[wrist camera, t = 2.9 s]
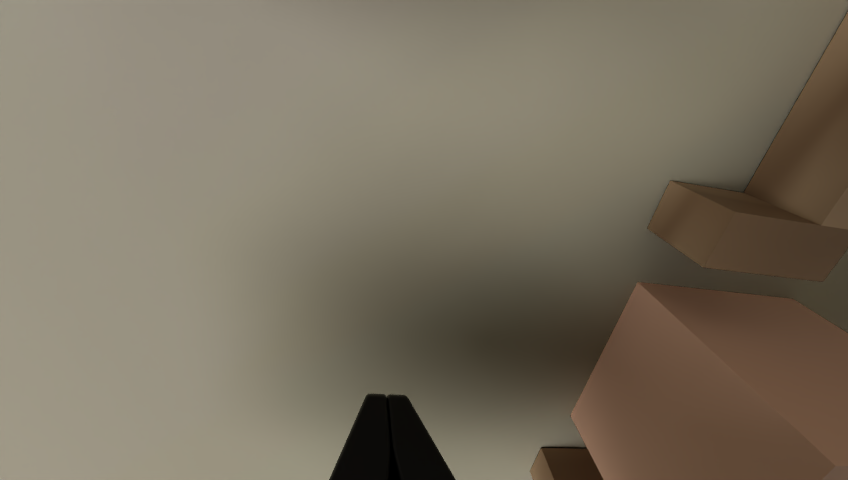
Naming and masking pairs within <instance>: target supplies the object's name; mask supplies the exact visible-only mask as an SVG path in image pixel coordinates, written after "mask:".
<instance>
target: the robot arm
mask: <svg viewBox="0 0 848 480" xmlns="http://www.w3.org/2000/svg"><path fill="white" fill-rule="evenodd" d="M329 480H455V478H454V476H453V475H452V473H451V471H450V469H449V468H448V466H447V464H446V462H445V461H444V459H443V457H442V456H441V454H440V452H439V450H438V449H437V447H436V445H435V444H434V442H433V440H432V438H431V437H430V435H429V433H428V431H427V430H426V428H425V426H424V425H423V423H422V421H421V419H420V418H419V416H418V414H417V413H416V411H415V409H414V407H413V406H412V404H411V402H410V401H409V399H408V397H407V396H405V395H391V394H390V395H388V396H387V397H386V395H384V394H367V396H366V397H365V399H364V402H363V404H362V406H361V408H360V411H359V413H358V415H357V418H356V420H355V422H354V424H353V427H352V429H351V431H350V434H349V436H348V438H347V440H346V443H345V445H344V447H343V450H342V452H341V454H340V456H339V459H338V461H337V463H336V466H335V468H334V470H333V472H332V475H331V477H330V479H329Z"/></svg>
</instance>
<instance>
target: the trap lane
mask: <svg viewBox="0 0 848 480" xmlns="http://www.w3.org/2000/svg"><path fill="white" fill-rule="evenodd" d="M647 229H649V230H650V231H652V232H653V233H654V234H656V235H657V236H659V237H660V238H662V239H663V240H664V241H666V242H667V243H669V244H670V245H672V246H673V247H674V248H676V249H677V250H679V251H680V252H682V253H683V254H684V255H686V256H687V257H689V258H690V259H692V260H693V261H695V262H696V263H697V264H699V265H700V266H702V267H703V268H710V269H719V270H727V271H735V272H744V273H752V274H760V275H769V276H777V277H785V278H794V279H802V280H810V281H818V282H823V281H824V280H825V278H826V277H827V276H828V274H829V273H830V272H831V270H832V269H833V268H834V266H835V265H836V264H837V262H838V261H839V260H840V258H841V257H842V256H843V254H844V253H845V252H846V250H847V249H848V12H847V14H846V16H845V18H844V19H843V21H842V23H841V24H840V26H839V28H838V30H837V31H836V33H835V35H834V37H833V38H832V40H831V42H830V44H829V45H828V47H827V49H826V51H825V52H824V54H823V56H822V57H821V59H820V61H819V63H818V64H817V66H816V68H815V70H814V71H813V73H812V75H811V77H810V78H809V80H808V82H807V83H806V85H805V87H804V89H803V90H802V92H801V94H800V96H799V97H798V99H797V101H796V103H795V104H794V106H793V108H792V110H791V111H790V113H789V115H788V116H787V118H786V120H785V122H784V123H783V125H782V127H781V129H780V130H779V132H778V134H777V136H776V137H775V139H774V141H773V143H772V144H771V146H770V148H769V149H768V151H767V153H766V155H765V156H764V158H763V160H762V162H761V163H760V165H759V167H758V169H757V170H756V172H755V174H754V176H753V177H752V179H751V181H750V182H749V184H748V186H747V188H746V189H745V191H744V193H742V192H736V191H730V190H724V189H718V188H712V187H706V186H700V185H694V184H688V183H682V182H676V181H670V182H669V184H668V186H667V188H666V190H665V192H664V194H663V197H662V199H661V201H660V203H659V205H658V207H657V209H656V211H655V213H654V215H653V217H652V219H651V221H650V223H649V226H648V228H647ZM530 472H531V475H532V478H533V480H604V479H603V477H602V476H601V474H600V472H599V470H598V468H597V466H596V464H595V462H594V460H593V458H592V456H591V454H590V452H589V450H588V449H570V448H541V449H540V451H539V454H538V456H537V458H536V460H535V462H534V464H533V466H532V468H531V470H530Z"/></svg>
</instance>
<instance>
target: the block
mask: <svg viewBox="0 0 848 480" xmlns="http://www.w3.org/2000/svg"><path fill="white" fill-rule="evenodd" d="M570 416H571V418H572V420H573V422H574V424H575V425H576V427H577V429H578V431H579V433H580V435H581V437H582V439H583V441H584V443H585V445H586V447H587V449H588V450H589V452H590V454H591V456H592V458H593V460H594V462H595V464H596V466H597V468H598V470H599V472H600V474H601V476H602V477H603V479H604V480H848V333H847V332H845V331H844V330H842V329H840V328H839V327H837V326H836V325H834V324H832V323H831V322H829V321H828V320H826V319H824V318H823V317H821V316H820V315H818V314H816V313H815V312H813V311H812V310H810V309H808V308H807V307H805V306H804V305H802V304H800V303H799V302H797V301H796V300H794V299H790V298H781V297H772V296H763V295H753V294H744V293H735V292H726V291H717V290H707V289H698V288H689V287H680V286H670V285H661V284H652V283H643V282H637V284H636V286H635V288H634V290H633V292H632V294H631V296H630V298H629V300H628V302H627V304H626V306H625V308H624V310H623V312H622V314H621V316H620V318H619V320H618V322H617V324H616V326H615V328H614V330H613V332H612V334H611V336H610V338H609V340H608V342H607V344H606V346H605V348H604V350H603V352H602V354H601V356H600V358H599V360H598V362H597V364H596V366H595V368H594V370H593V372H592V374H591V376H590V377H589V379H588V381H587V383H586V385H585V387H584V389H583V391H582V393H581V395H580V397H579V399H578V401H577V403H576V405H575V407H574V409H573V411H572V413H571V415H570Z"/></svg>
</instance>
